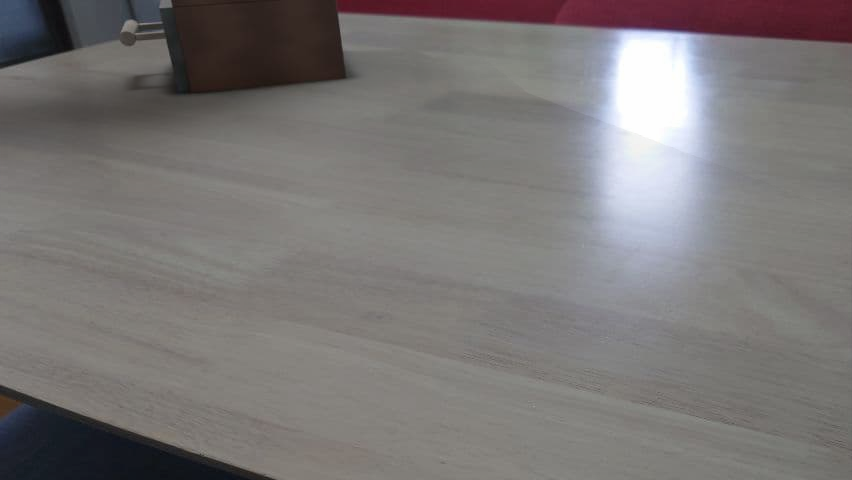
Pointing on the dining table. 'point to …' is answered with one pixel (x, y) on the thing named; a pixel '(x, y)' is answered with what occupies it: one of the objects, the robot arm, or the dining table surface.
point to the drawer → (170, 34)
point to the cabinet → (258, 42)
